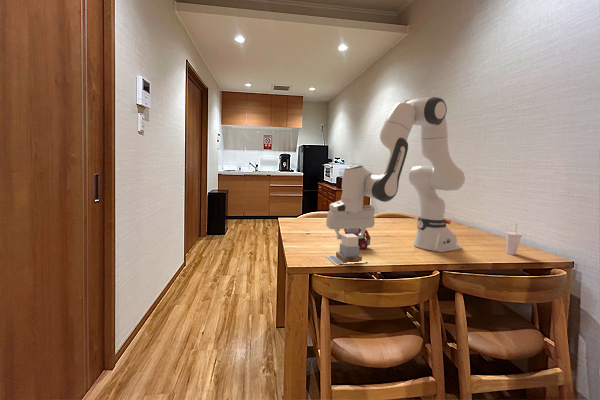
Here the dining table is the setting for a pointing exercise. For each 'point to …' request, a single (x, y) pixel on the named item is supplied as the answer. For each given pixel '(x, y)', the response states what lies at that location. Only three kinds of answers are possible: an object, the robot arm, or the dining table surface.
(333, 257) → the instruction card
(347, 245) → the cream brick
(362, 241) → the toy fire truck
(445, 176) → the robot arm
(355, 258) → the plinth
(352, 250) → the slate brick
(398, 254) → the dining table surface
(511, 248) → the smoothie
